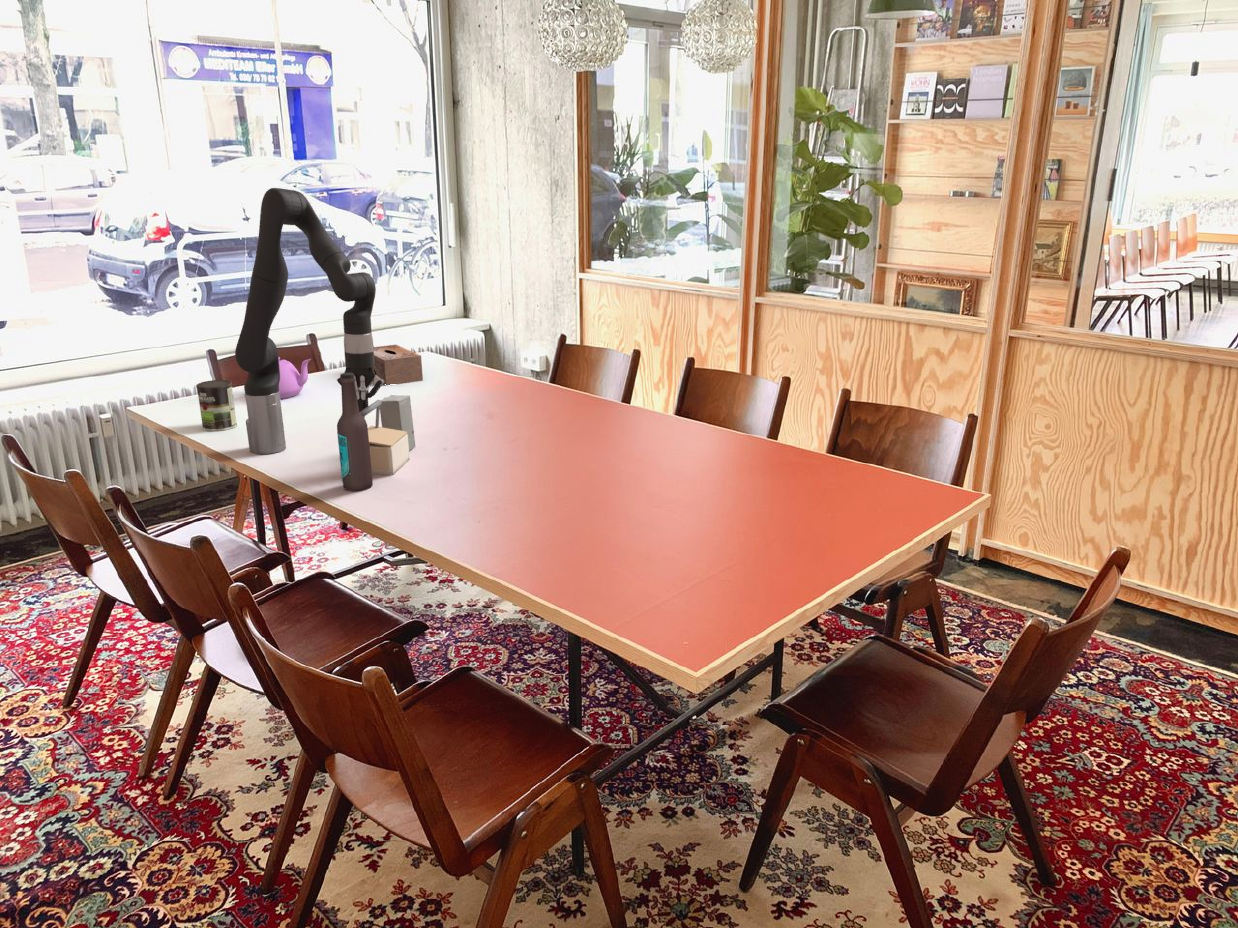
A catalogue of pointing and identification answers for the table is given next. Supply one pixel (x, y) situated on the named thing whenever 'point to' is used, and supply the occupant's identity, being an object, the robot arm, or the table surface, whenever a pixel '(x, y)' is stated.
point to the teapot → (291, 378)
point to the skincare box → (398, 415)
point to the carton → (389, 456)
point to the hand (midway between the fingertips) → (363, 412)
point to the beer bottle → (353, 440)
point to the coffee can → (216, 405)
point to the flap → (381, 429)
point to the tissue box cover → (397, 365)
